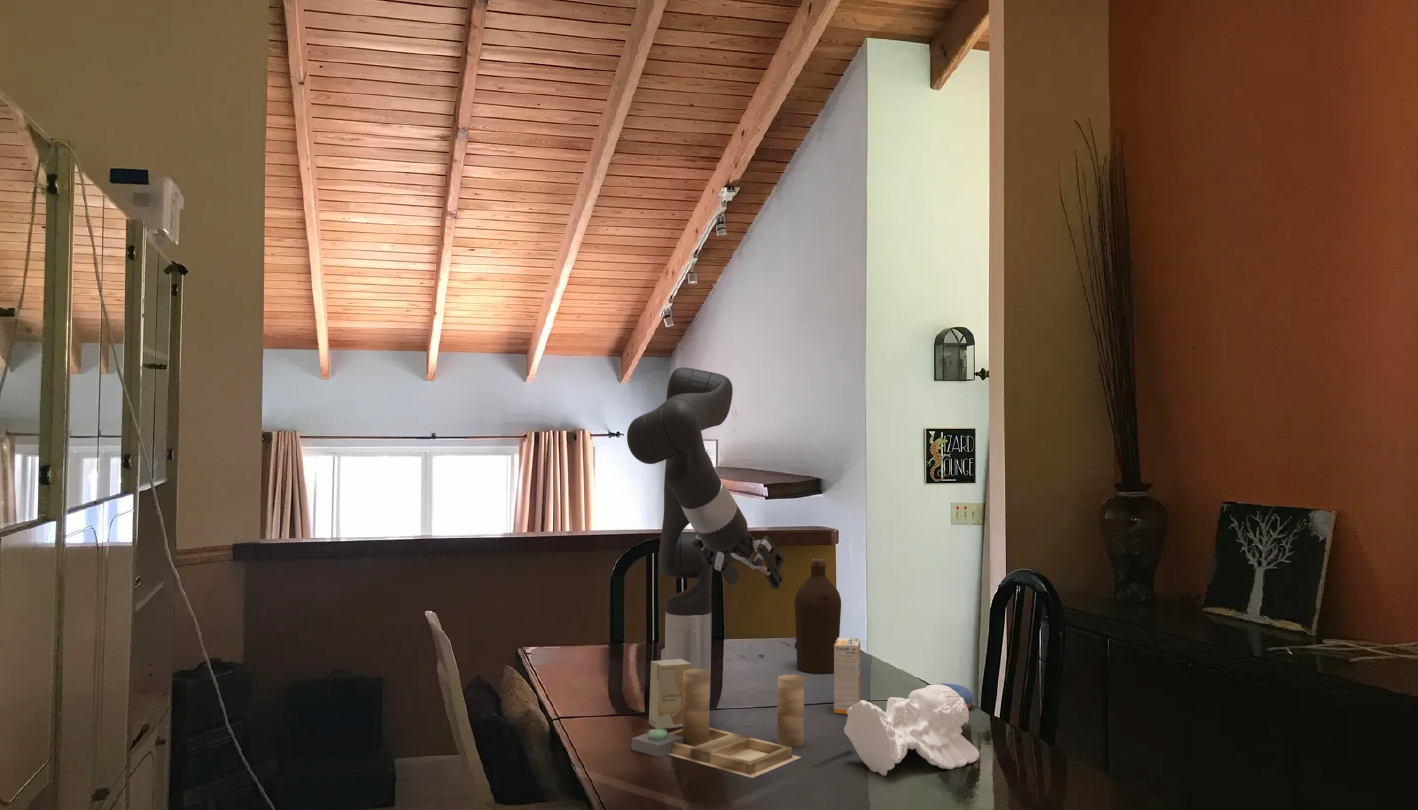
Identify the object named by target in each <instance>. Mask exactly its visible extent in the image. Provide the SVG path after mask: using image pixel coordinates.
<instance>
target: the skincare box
mask: <svg viewBox="0 0 1418 810" xmlns="http://www.w3.org/2000/svg"><path fill="white" fill-rule="evenodd" d="M689 669H691V663H689V662H687V661H685V660H683V659H673V660H661V659H660V660H650V684H649V707H648V708H649V711H648V712H649V714H648V725H650V726H652V727H653V728H654V729H664V730H666V729H673V728H680V727H681V728H683V672H684V671H685V670H689Z"/></svg>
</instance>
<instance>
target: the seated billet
mask: <svg viewBox="0 0 1418 810" xmlns="http://www.w3.org/2000/svg"><path fill="white" fill-rule="evenodd" d="M710 699H711V679H710V671H708V670H703V669H689V670H685V671H684V672H683V726H682V729H683V737H684V744H686V745H689V746H693V747H696V746H698V745H701V744H704V743H707V742H709V727H710V702H711V701H710Z"/></svg>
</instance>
